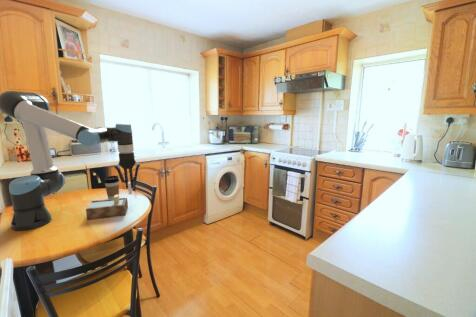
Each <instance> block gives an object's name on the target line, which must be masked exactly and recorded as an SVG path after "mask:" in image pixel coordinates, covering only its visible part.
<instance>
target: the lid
mask: <svg viewBox="0 0 476 317" xmlns="http://www.w3.org/2000/svg"><path fill="white" fill-rule="evenodd" d="M119 198H120V193H119V194H118V195H115V196H114V200H113V201H103V202H94V203H92V202H90V204H89V205H88V207H87V208H95V207H104V206H113V205H122V204H123V201H124V199H123V200H119Z"/></svg>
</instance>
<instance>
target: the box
mask: <svg viewBox="0 0 476 317" xmlns="http://www.w3.org/2000/svg"><path fill="white" fill-rule="evenodd" d="M123 199H124V201H123V204H122V205H113V206H104V207H95V208H88V207H87V208H86V209H85V213H86V220H87V221H89V220H90V221H91V220H98V219H99V220H100V219H106V218H108V219H109V218H114V217H115V218H117V217H124V216H126V214H127V211H128V209H129V205H128V204H129V202H128V197H119V200H123ZM113 200H114V199H108V198H107V199H97V200H91V203H94V202H103V201H113Z"/></svg>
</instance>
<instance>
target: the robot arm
mask: <svg viewBox="0 0 476 317" xmlns="http://www.w3.org/2000/svg"><path fill="white" fill-rule="evenodd" d="M50 110H51V109H50V103H49V101H48V100H47V98H45V96H43V95H41V94H39V93H35V92H29V91H28V92H27V91H18V90H9V91H8V90H7V91H4V92H2V93H0V112H2V113H3V114H5V115H6V116H9V117H11V118H14V119H17V121H18V122H20V123H21V124H22V127H23V131H24V136H25V140H26V143H27V144H26V145H27V147H28V152H29V156H30V160H31V165H32V170H31V171H30V172H29V175H25V176H20V177H17V178H15V179H13V180H11V181H10V183H9V184H8V192H9V195H10V201H11V205H12V210H13V215H12V219H11V222H10V226H11V229H12V230H13V231H28V230H32V229H36V228H40V227H43V226H45V225H46V224H49V223H50V222H51V221H52V215H51V213H50V211H49V210H48V208H47V207H46V206H45V205H46V204H45V198H46V197H48V196H50V195H52V194H55V193H58V192H59V191H60V190H62V188H63V187H64V185H65V183H66V179H65V178H66V177H65V175H64V174H63V173H62V172H61V171H59V169H58V167H57V166H54V161H53V157H52V152H51V148H50V143H49V139H48V134H47V130H50V131H54V132H56V133H58V134H61V135H64V136H67V137H69V138H72V139H74V140H77V141H78V142H79V143H80V144H81V146H84V147H92V146H96V145H100V144H104V143H109V142H113V143H114V142H116V143H117V151H118V164H116V165H114V169H116V171H117V174H118V177H119V178H120V179H119V180H120V181H121V183H124V184H125V189H126V190H127V189H128V195H133V188H134V186H135V185H134V182H136V181H137V179H138V173H139V168H140V166H141V164H140V163H138V162H137V161H136V159H135V152H134V151H135V149H134V142H133V130H132V126H131V124H130V123H127V122H125V123H115V126H114V127H100V126H99V127H94V128H91V127H88V126H86V125H84V124H81V123H78V122H76V121H74V120H73V119H69V118H66V117H63V116H61V115H59V114H56V113H53V112H51V111H50ZM134 166H135V171H134V175H133V169H134ZM121 168H122V169H123V172H124V174H123V172H122V170H121ZM128 172H129V175H128ZM123 175H124V176H123ZM128 176H129V177H128ZM129 179H130V180H129Z"/></svg>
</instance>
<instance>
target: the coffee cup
mask: <svg viewBox="0 0 476 317" xmlns="http://www.w3.org/2000/svg"><path fill="white" fill-rule="evenodd" d="M103 182H104V186H105V187H104V188H105V190H106V191H105V192H106V195H107V199H114V196H115V195H118V194H119V195H120V183H119V182H120V179H119V175H109V176H107V177H104V180H103Z"/></svg>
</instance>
